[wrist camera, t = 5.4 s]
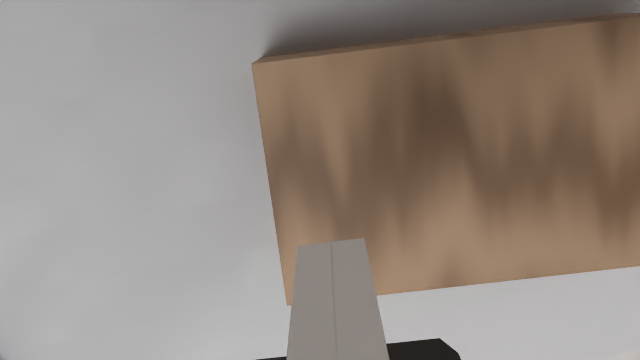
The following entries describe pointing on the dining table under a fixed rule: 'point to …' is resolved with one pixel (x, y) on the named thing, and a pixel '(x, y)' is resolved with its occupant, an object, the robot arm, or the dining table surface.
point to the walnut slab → (460, 152)
